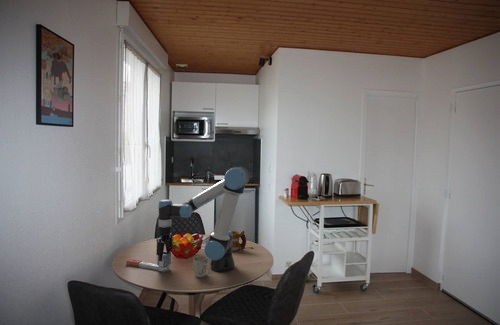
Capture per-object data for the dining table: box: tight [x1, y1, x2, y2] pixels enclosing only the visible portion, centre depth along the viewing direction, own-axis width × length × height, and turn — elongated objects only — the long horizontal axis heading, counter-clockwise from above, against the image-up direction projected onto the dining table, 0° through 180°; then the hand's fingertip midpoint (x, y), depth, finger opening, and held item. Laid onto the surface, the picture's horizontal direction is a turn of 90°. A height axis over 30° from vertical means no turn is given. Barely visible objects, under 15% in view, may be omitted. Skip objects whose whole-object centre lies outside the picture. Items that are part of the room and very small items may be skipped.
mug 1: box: [192, 255, 211, 278], centre depth 183 cm, size 8×13×10 cm, turn 51°
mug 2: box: [230, 230, 247, 253], centre depth 231 cm, size 11×16×15 cm, turn 72°
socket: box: [156, 250, 172, 267], centre depth 190 cm, size 6×6×7 cm
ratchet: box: [125, 258, 171, 274], centre depth 194 cm, size 30×7×8 cm, turn 71°
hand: (164, 264), depth 190 cm, fingers closed on socket, 6 cm apart
